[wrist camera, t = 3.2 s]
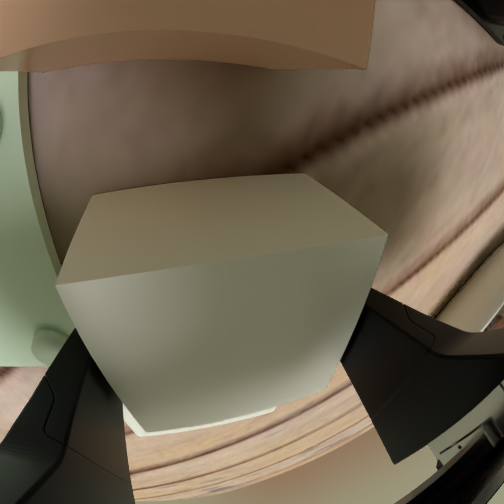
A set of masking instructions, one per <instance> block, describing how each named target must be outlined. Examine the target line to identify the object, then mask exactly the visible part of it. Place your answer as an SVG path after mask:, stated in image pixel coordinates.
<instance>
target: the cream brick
mask: <svg viewBox="0 0 504 504" xmlns="http://www.w3.org/2000/svg"><path fill="white" fill-rule="evenodd" d="M387 238H388V234H387V233H386V232H385V231H383V230H382V229H381V228H380V227H378V226H377V225H376V224H374V223H373V222H372V221H371V220H369V219H368V218H367V217H365V216H364V215H363V214H361V213H360V212H359V211H357V210H356V209H355V208H353V207H352V206H351V205H349V204H348V203H347V202H345V201H344V200H343V199H341V198H340V197H338V196H337V195H336V194H334V193H333V192H331V191H330V190H329V189H327V188H326V187H324V186H323V185H321V184H320V183H318V182H317V181H316V180H314V179H313V178H311V177H310V176H308V175H307V174H305V173H298V174H273V175H255V176H240V177H227V178H215V179H204V180H194V181H185V182H176V183H168V184H160V185H153V186H145V187H138V188H132V189H125V190H119V191H113V192H107V193H101V194H96V195H92V197H91V199H90V201H89V203H88V206H87V208H86V210H85V212H84V214H83V216H82V218H81V220H80V223H79V225H78V227H77V230H76V232H75V234H74V237H73V239H72V241H71V244H70V246H69V249H68V251H67V254H66V256H65V259H64V262H63V264H62V267H61V270H60V273H59V276H58V278H57V281H56V284H55V286H56V288H57V291H58V293H59V295H60V297H61V299H62V302H63V304H64V306H65V308H66V310H67V312H68V314H69V316H70V318H71V320H72V322H73V324H74V326H75V328H76V329H77V331H78V333H79V335H80V337H81V339H82V340H83V342H84V344H85V346H86V347H87V349H88V351H89V353H90V354H91V356H92V358H93V359H94V361H95V362H96V364H97V366H98V367H99V369H100V370H101V372H102V374H103V375H104V377H105V378H106V380H107V381H108V383H109V384H110V386H111V387H112V388H113V390H114V391H115V393H116V394H117V396H118V397H119V398H120V400H121V401H122V403H123V404H124V405H125V407H126V408H127V409H128V411H129V412H130V413H131V414H132V416H133V417H134V418H135V420H136V421H137V422H138V423H139V425H140V426H141V427H142V428H143V429H144V431H145V432H146V433H149V432H157V431H165V430H173V429H179V428H186V427H192V426H197V425H203V424H208V423H213V422H218V421H222V420H227V419H231V418H236V417H240V416H244V415H248V414H251V413H255V412H259V411H263V410H266V409H270V408H273V407H276V406H280V405H283V404H286V403H289V402H292V401H295V400H298V399H301V398H304V397H307V396H310V395H313V394H315V393H318V392H321V391H323V390H326V388H327V386H328V384H329V382H330V380H331V378H332V376H333V374H334V372H335V370H336V368H337V366H338V364H339V362H340V359H341V357H342V355H343V353H344V351H345V349H346V347H347V344H348V342H349V340H350V338H351V335H352V333H353V331H354V328H355V326H356V324H357V321H358V319H359V317H360V314H361V312H362V309H363V307H364V304H365V302H366V299H367V296H368V294H369V291H370V288H371V286H372V283H373V280H374V277H375V275H376V272H377V269H378V266H379V263H380V260H381V257H382V254H383V251H384V248H385V245H386V242H387Z"/></svg>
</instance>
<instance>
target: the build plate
mask: <svg viewBox="0 0 504 504" xmlns="http://www.w3.org/2000/svg"><path fill="white" fill-rule="evenodd" d="M60 270H61V264H60V261H59V258H58V255H57V252H56V249H55V246H54V243H53V240H52V237H51V233H50V230H49V226H48V223H47V219H46V215H45V211H44V207H43V203H42V199H41V195H40V190H39V185H38V181H37V175H36V170H35V164H34V158H33V151H32V144H31V135H30V126H29V113H28V92H27V72H20V71H0V366H49V367H50V365H51V363H52V362H53V360H54V359H55V357H56V355H57V354H58V352H59V351H60V349H61V348H62V346H63V345H64V343H65V342H66V340H67V339H68V337H69V336H70V334H71V333H72V331H73V330H74V328H75V326H74V324H73V322H72V320H71V318H70V316H69V314H68V312H67V310H66V308H65V306H64V304H63V302H62V299H61V297H60V295H59V293H58V291H57V288H56V286H55V284H56V281H57V278H58V276H59V273H60Z"/></svg>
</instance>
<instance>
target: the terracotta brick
mask: <svg viewBox="0 0 504 504" xmlns="http://www.w3.org/2000/svg"><path fill="white" fill-rule="evenodd" d="M374 8H375V0H0V71H20V72H42V73H44V72H48V71H53V70H58V69H63V68H69V67H75V66H81V65H88V64H96V63H104V62H115V61H128V60H154V59H174V60H200V61H214V62H225V63H234V64H242V65H249V66H256V67H262V68H268V69H274V70H289V69H314V68H338V69H363V70H367V65H368V58H369V51H370V44H371V36H372V27H373V18H374Z"/></svg>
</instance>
